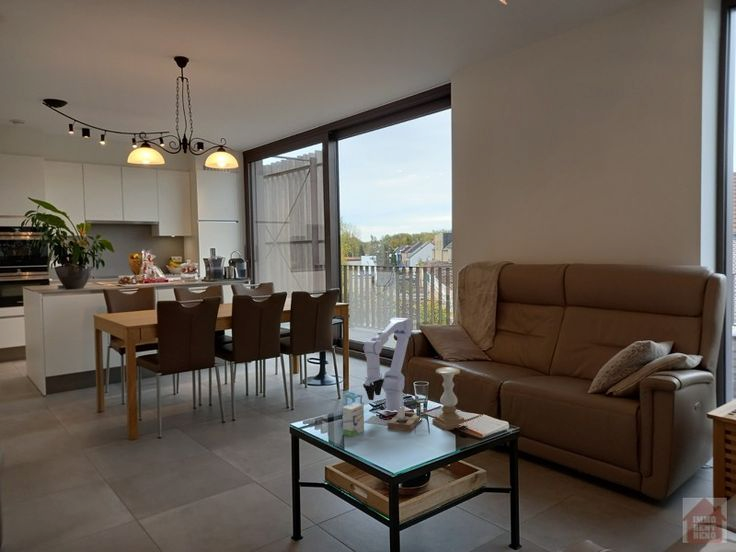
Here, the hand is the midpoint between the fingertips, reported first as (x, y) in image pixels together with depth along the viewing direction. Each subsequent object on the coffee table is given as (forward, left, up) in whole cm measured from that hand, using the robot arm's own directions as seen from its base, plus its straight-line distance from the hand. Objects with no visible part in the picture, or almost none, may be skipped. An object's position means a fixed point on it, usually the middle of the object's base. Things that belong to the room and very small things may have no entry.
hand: (374, 397), depth 237 cm
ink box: (+18, -2, -10) cm, 21 cm away
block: (+2, +15, -10) cm, 18 cm away
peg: (+6, +15, -10) cm, 19 cm away
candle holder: (-4, +33, -10) cm, 35 cm away
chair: (+1, -10, -10) cm, 14 cm away
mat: (+1, +2, -10) cm, 10 cm away
